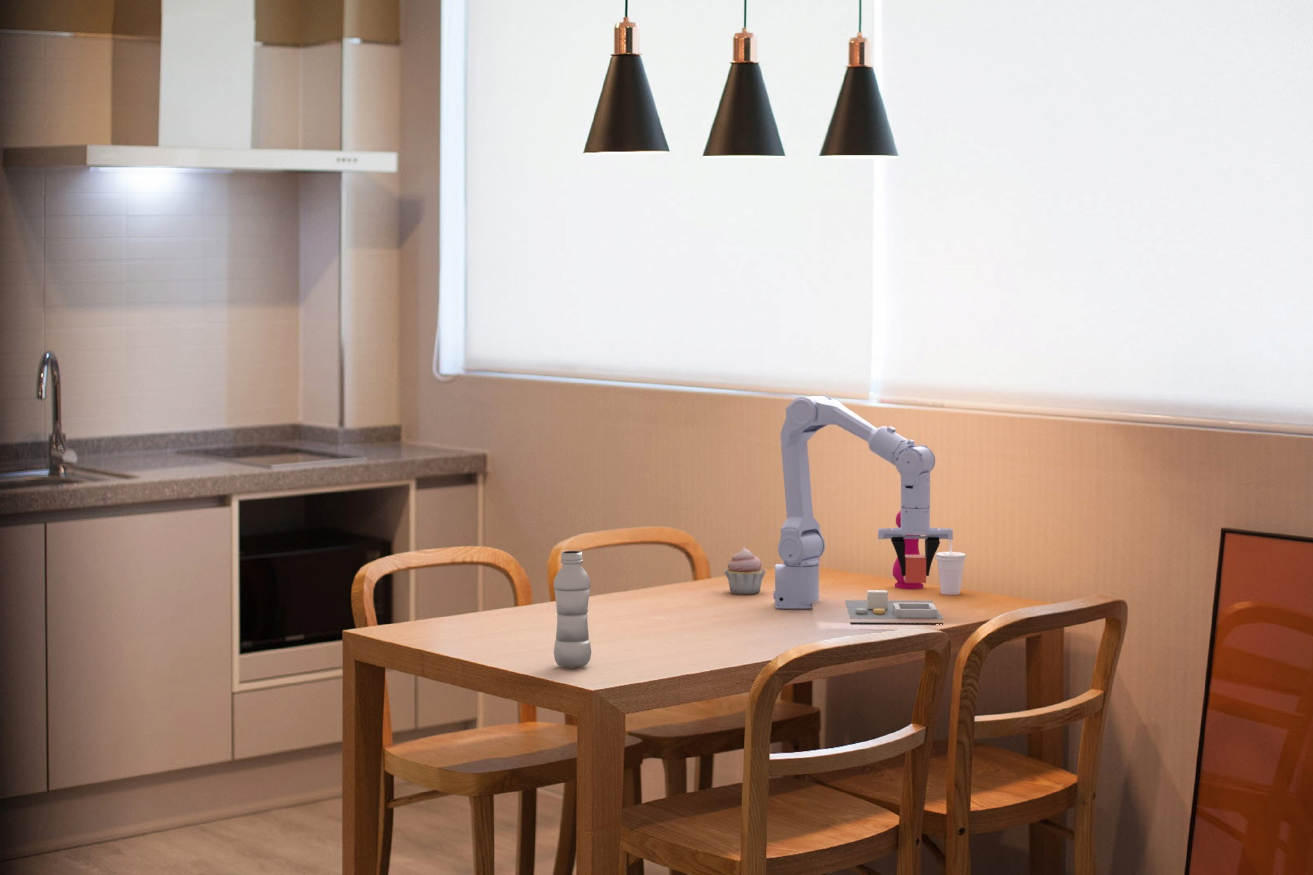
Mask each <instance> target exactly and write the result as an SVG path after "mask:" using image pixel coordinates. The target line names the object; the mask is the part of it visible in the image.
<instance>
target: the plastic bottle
mask: <svg viewBox="0 0 1313 875" xmlns="http://www.w3.org/2000/svg"><path fill="white" fill-rule="evenodd" d="M560 555H561V556H560V563H561V564H562V565H561V567H560V569H559V570H558V572H557V573H556V575H555V577H554V580H553V589H554V596H555V606H556V618H557V619H556V622H557V623H556V634H555V641H554V645H553V646H554V648H553V656H554V657H553V658H554V662H555V663H556V665H557V666H559V667H563V668H568V667H576V668H581V667H584V666H587V665H588V664H589V662H590V660H591V657H592V646H591V642H590V639H589V638H590V635H589V626H588V625H589V623H588V618H589V616H588V612H589V599H590V593H591V583H592V582H591V579H590V576H589V574H588V573H587V571H586V570H585V569H584V567H583V566H582V563H584V559H583V551H581V550H564V551H561V552H560Z"/></svg>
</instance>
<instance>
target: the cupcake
mask: <svg viewBox="0 0 1313 875" xmlns="http://www.w3.org/2000/svg"><path fill="white" fill-rule="evenodd" d="M723 572H724V575H725V577H726V579H727V582H728V585H729V586H728V587H729V590H730V593H732V594H735V595H739V594H752V595H757V594H759V593H760V592H761V587H762V583H763V579H764V577H765V575H766V573H767V570H765V569H762V561H761V560H760V558H759V557H757V556H756V555H754V554H753V553H752V552H751V550H749V549H747V548H745V547H744V546H743V548H742V549H741V550H740V551H739V552H737V553H736V554H734V555H733V556H732V557H731V560H729V562H728V563H727V569H724V571H723Z"/></svg>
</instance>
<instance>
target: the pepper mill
mask: <svg viewBox="0 0 1313 875" xmlns="http://www.w3.org/2000/svg"><path fill="white" fill-rule="evenodd" d="M895 524H896V527H897V528H901V510H900V511H898V512H897V514H896V516H895ZM906 536H922V535H906ZM904 540H905V555H921V553H920V549H919V543H920V542H919V541H920V539H904ZM892 577H893V578H894V579H895V580H896V582H895V583H894V588H897V589H902V590H918V589H923V588H924V583H905V581H904V576H902V575H901V569H900V564H899V560H898V557H897V556H896V559H895V561H894V563H893V567H892Z"/></svg>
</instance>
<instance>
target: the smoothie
mask: <svg viewBox="0 0 1313 875" xmlns="http://www.w3.org/2000/svg"><path fill="white" fill-rule="evenodd" d="M948 542H949V544H948V545H949V546H948V551H940V552H939V551H938V552H936V553H935V559H936V561H937V569H938V578H939V587H940V594H942V595H947V596H948V595H949V596H956V595H960V593H961V587H962V581H963V573H964V572H963V571H964V564H965V560H967V557H966V556H967V554H966V553H964V552H959V551H952V550H953V539H952V540H949V539H948Z"/></svg>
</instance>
